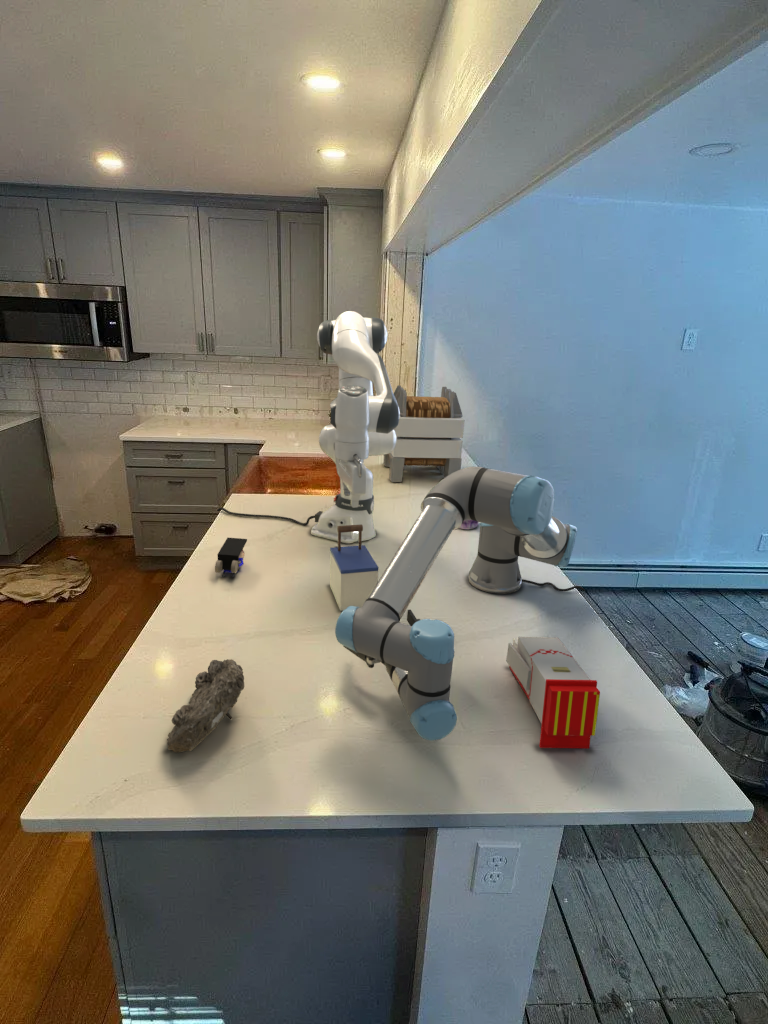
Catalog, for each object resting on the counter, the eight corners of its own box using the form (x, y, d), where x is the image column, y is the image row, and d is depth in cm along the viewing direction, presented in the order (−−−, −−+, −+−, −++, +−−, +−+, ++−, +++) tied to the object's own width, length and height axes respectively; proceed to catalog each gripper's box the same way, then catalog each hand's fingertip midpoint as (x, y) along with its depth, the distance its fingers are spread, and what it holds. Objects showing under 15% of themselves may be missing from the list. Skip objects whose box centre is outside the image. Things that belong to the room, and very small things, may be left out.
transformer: (382, 463, 289) (386, 382, 275) (445, 464, 293) (451, 384, 279) (390, 482, 257) (394, 392, 243) (460, 483, 261) (468, 394, 247)
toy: (554, 620, 129) (609, 687, 99) (549, 674, 131) (601, 755, 102) (501, 619, 128) (541, 686, 99) (497, 673, 131) (534, 754, 102)
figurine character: (238, 584, 162) (249, 557, 175) (236, 562, 158) (247, 536, 172) (215, 584, 161) (227, 556, 175) (212, 561, 158) (225, 535, 171)
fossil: (192, 660, 117) (244, 628, 112) (224, 691, 120) (276, 661, 115) (142, 746, 98) (202, 712, 93) (182, 779, 101) (242, 748, 96)
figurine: (464, 532, 204) (468, 492, 199) (449, 522, 212) (452, 484, 207) (486, 528, 208) (490, 489, 203) (469, 519, 216) (473, 481, 211)
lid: (329, 550, 158) (330, 523, 155) (364, 548, 160) (365, 520, 157) (340, 574, 144) (341, 544, 141) (378, 570, 147) (379, 541, 144)
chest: (329, 585, 161) (330, 551, 157) (363, 582, 163) (365, 549, 160) (340, 610, 148) (340, 574, 144) (376, 607, 150) (378, 570, 147)
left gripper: (373, 460, 138) (371, 513, 143) (354, 441, 157) (353, 488, 161) (348, 461, 137) (347, 514, 141) (332, 441, 155) (331, 489, 160)
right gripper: (345, 698, 107) (325, 638, 126) (467, 680, 114) (430, 626, 133) (346, 664, 104) (325, 608, 123) (471, 648, 111) (433, 598, 130)
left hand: (350, 500), depth 151 cm, fingers open, 8 cm apart
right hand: (380, 617), depth 128 cm, fingers open, 13 cm apart
